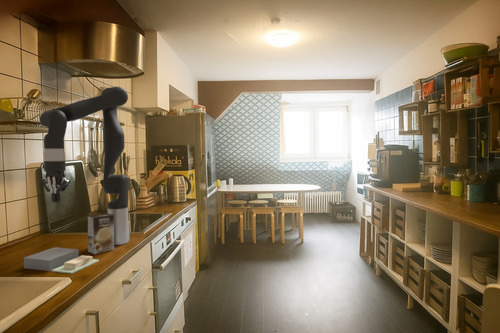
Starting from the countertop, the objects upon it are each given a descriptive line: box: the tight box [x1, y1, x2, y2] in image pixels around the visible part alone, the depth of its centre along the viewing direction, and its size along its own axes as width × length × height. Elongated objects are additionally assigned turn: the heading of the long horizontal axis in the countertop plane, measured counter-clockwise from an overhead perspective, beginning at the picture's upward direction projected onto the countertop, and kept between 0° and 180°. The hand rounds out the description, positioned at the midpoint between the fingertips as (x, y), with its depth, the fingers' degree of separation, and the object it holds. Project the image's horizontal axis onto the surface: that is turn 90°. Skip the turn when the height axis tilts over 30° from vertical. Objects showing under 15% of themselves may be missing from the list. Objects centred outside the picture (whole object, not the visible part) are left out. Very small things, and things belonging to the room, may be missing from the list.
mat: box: [51, 258, 100, 274], centre depth 123 cm, size 14×9×1 cm, turn 165°
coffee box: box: [87, 213, 115, 255], centre depth 142 cm, size 9×6×16 cm
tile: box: [64, 255, 94, 269], centre depth 123 cm, size 9×5×2 cm, turn 167°
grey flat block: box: [23, 246, 80, 272], centre depth 125 cm, size 14×12×4 cm
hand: (56, 202), depth 129 cm, fingers closed
